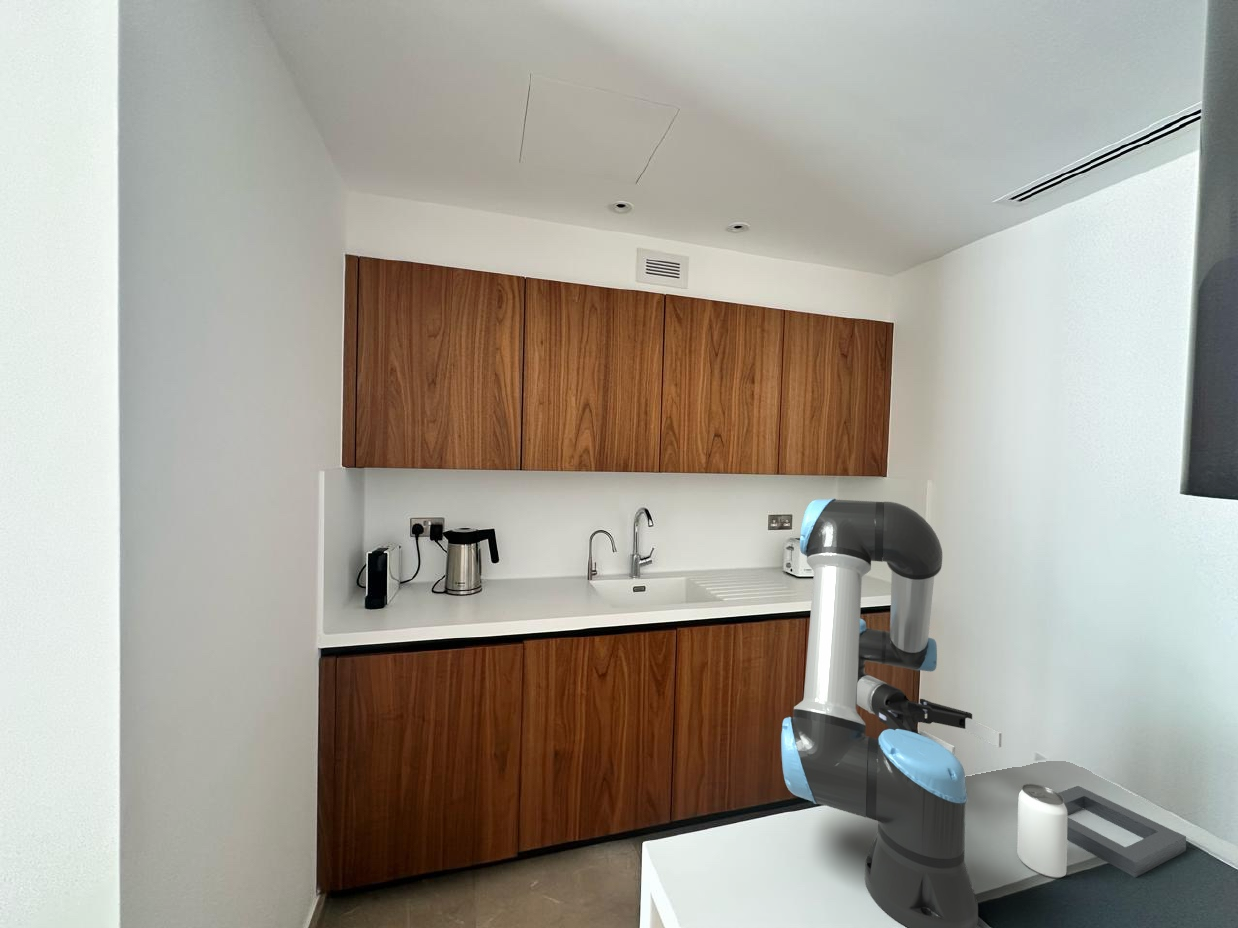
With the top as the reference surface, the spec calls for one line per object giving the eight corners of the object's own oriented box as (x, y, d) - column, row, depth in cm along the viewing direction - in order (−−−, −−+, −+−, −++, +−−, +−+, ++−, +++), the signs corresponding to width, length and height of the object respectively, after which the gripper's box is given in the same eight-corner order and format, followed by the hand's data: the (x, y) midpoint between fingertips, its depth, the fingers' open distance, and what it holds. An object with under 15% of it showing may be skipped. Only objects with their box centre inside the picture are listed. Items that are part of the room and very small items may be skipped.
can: (1076, 882, 84) (1077, 808, 85) (1030, 875, 86) (1031, 802, 86) (1051, 854, 91) (1052, 784, 91) (1009, 847, 92) (1010, 779, 92)
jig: (1135, 877, 86) (1135, 862, 86) (1027, 817, 101) (1027, 804, 101) (1185, 850, 93) (1186, 836, 93) (1077, 797, 107) (1077, 785, 107)
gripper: (919, 706, 123) (1017, 753, 104) (839, 725, 113) (932, 781, 94) (920, 674, 123) (1018, 715, 104) (840, 691, 113) (932, 739, 94)
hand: (977, 747), depth 99 cm, fingers open, 13 cm apart
